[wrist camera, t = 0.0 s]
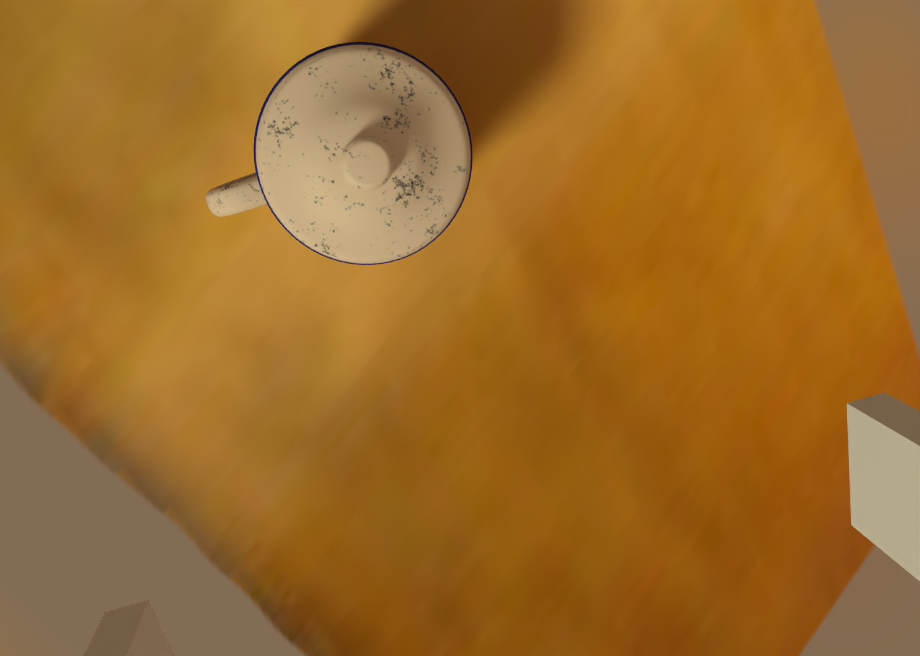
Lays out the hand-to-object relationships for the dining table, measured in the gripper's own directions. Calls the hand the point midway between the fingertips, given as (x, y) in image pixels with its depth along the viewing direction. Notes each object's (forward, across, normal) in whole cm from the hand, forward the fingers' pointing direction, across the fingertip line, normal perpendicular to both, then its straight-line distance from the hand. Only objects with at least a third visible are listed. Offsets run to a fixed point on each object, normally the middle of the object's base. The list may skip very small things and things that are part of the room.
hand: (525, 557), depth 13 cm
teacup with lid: (+28, -2, +6) cm, 29 cm away
